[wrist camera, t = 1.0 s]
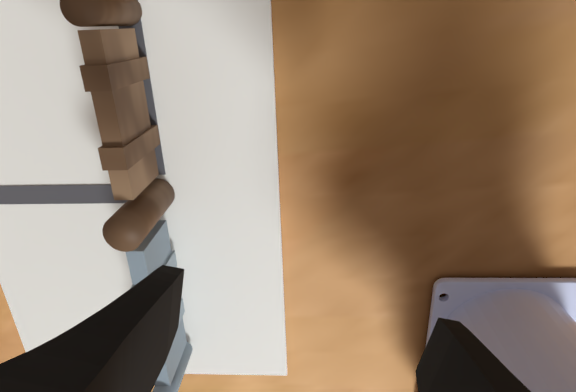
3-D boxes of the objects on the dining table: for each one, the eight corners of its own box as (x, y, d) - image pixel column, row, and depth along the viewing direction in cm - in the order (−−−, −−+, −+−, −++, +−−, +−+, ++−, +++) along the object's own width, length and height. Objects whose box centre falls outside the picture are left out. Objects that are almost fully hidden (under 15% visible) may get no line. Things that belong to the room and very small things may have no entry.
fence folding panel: (193, 356, 24) (174, 410, 21) (173, 356, 24) (151, 409, 21) (171, 218, 20) (144, 256, 17) (148, 218, 20) (116, 256, 17)
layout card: (287, 371, 25) (287, 376, 25) (35, 367, 26) (32, 372, 26) (270, -14, 17) (269, -15, 16) (-97, 1, 18) (-105, 0, 17)
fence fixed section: (176, 207, 21) (145, 251, 17) (145, 208, 21) (106, 251, 17) (144, -7, 17) (92, -16, 13) (106, -5, 17) (44, -13, 13)
